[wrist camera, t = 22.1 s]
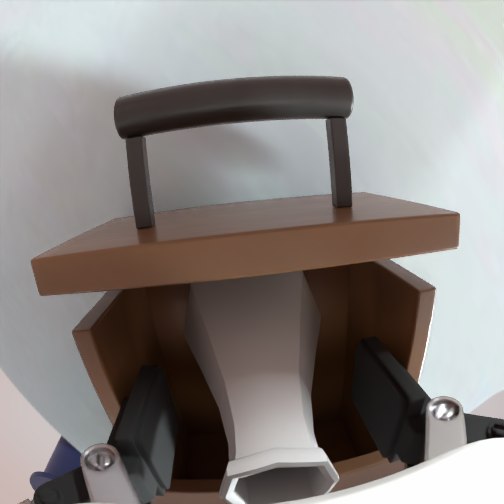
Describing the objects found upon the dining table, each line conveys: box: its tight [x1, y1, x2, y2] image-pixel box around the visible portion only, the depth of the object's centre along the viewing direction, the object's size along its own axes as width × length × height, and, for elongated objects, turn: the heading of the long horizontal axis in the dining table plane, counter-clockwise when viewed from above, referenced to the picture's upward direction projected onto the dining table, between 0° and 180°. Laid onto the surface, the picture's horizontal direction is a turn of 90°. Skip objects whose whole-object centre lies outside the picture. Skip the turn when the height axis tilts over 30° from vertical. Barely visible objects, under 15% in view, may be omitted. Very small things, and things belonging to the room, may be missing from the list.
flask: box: [184, 270, 339, 504], centre depth 11 cm, size 7×7×10 cm
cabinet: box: [151, 450, 405, 504], centre depth 16 cm, size 17×15×10 cm
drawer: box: [31, 76, 460, 479], centre depth 13 cm, size 20×13×8 cm, turn 5°
